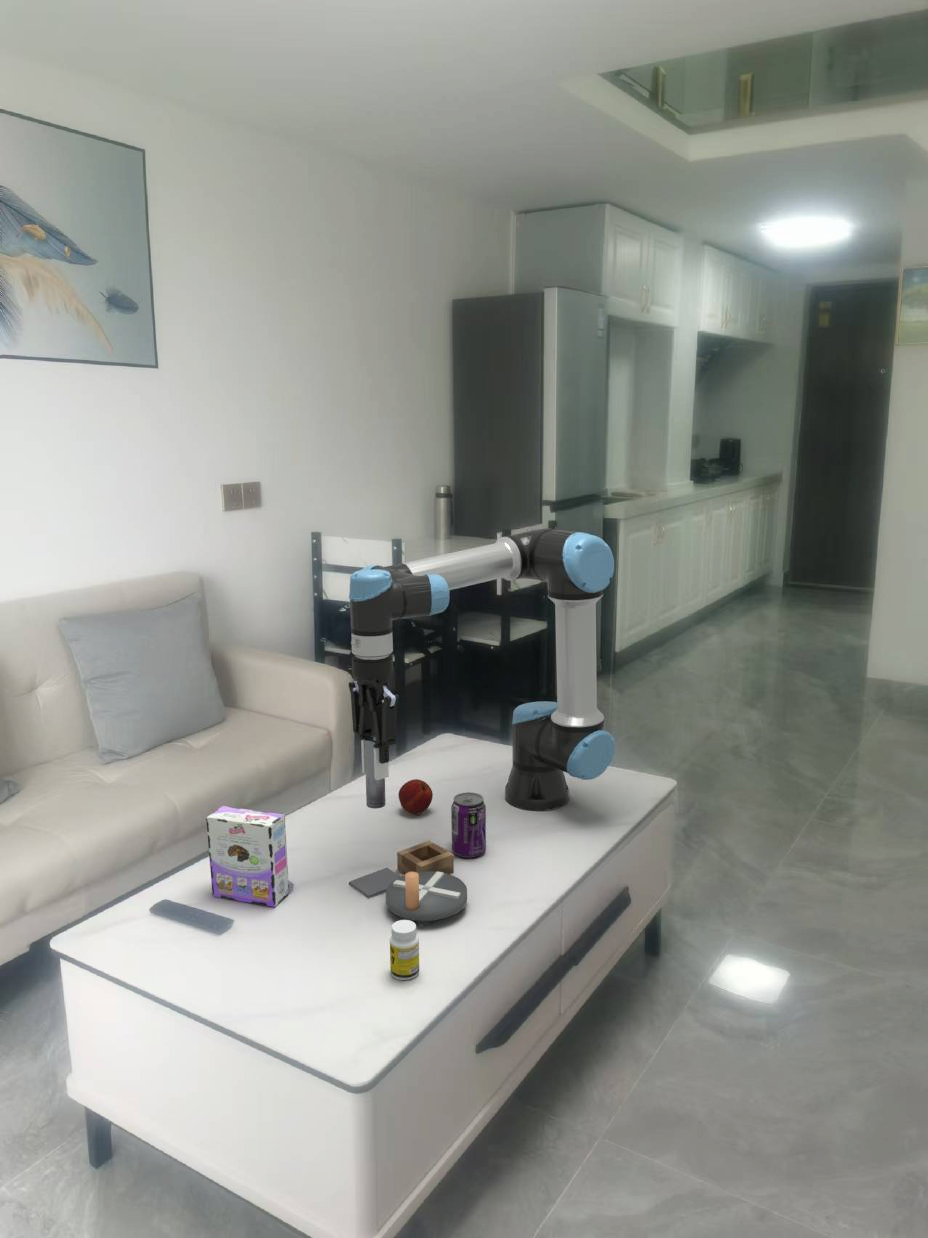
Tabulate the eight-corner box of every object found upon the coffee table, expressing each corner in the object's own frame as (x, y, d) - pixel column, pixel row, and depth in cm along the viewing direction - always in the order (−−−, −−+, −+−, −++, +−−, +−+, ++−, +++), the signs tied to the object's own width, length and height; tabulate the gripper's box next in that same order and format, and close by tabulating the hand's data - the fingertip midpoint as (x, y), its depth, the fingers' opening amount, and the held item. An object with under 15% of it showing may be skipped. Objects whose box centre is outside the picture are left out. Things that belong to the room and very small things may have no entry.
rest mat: (387, 870, 185) (386, 867, 185) (407, 883, 180) (407, 880, 179) (348, 884, 179) (348, 881, 179) (368, 898, 174) (368, 895, 174)
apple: (419, 822, 206) (419, 788, 205) (391, 814, 210) (390, 781, 209) (438, 810, 213) (437, 777, 211) (410, 803, 217) (409, 771, 215)
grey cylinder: (378, 799, 178) (376, 735, 176) (389, 805, 176) (387, 740, 173) (362, 804, 176) (360, 739, 173) (373, 810, 173) (371, 744, 171)
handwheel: (479, 887, 174) (479, 849, 173) (447, 927, 161) (447, 886, 159) (407, 873, 180) (406, 836, 178) (371, 910, 166) (370, 871, 165)
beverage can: (482, 861, 188) (482, 806, 186) (448, 858, 190) (447, 804, 187) (488, 846, 195) (488, 792, 192) (455, 843, 196) (455, 790, 194)
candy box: (290, 893, 176) (286, 813, 172) (274, 909, 171) (270, 826, 167) (228, 882, 181) (222, 803, 177) (210, 897, 175) (204, 816, 171)
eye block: (429, 858, 190) (429, 840, 189) (453, 873, 184) (453, 854, 183) (397, 870, 185) (397, 852, 184) (421, 885, 179) (421, 866, 178)
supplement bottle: (390, 964, 153) (389, 918, 151) (418, 963, 154) (418, 917, 152) (390, 982, 148) (389, 934, 147) (419, 980, 149) (419, 933, 147)
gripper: (330, 649, 173) (335, 766, 179) (380, 667, 161) (383, 793, 166) (364, 643, 178) (367, 757, 183) (415, 660, 166) (417, 782, 171)
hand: (375, 774), depth 175 cm, fingers closed on grey cylinder, 3 cm apart
